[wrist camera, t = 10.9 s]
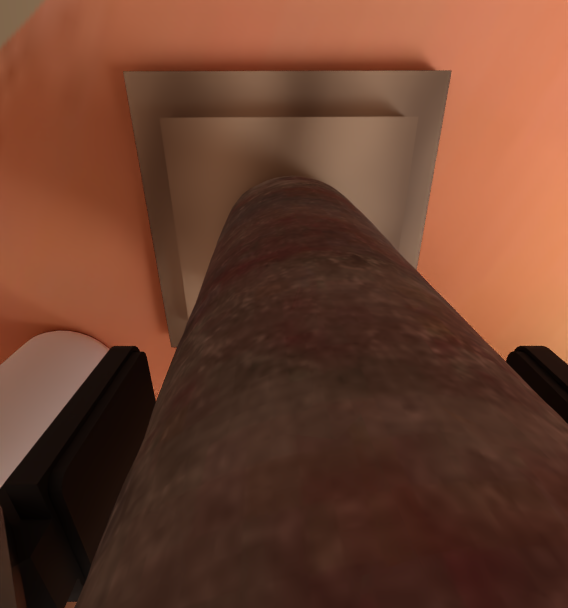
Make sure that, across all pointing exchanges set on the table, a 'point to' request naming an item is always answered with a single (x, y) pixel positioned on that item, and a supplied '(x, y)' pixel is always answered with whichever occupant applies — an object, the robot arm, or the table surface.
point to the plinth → (275, 101)
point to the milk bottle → (40, 388)
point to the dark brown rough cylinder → (335, 438)
